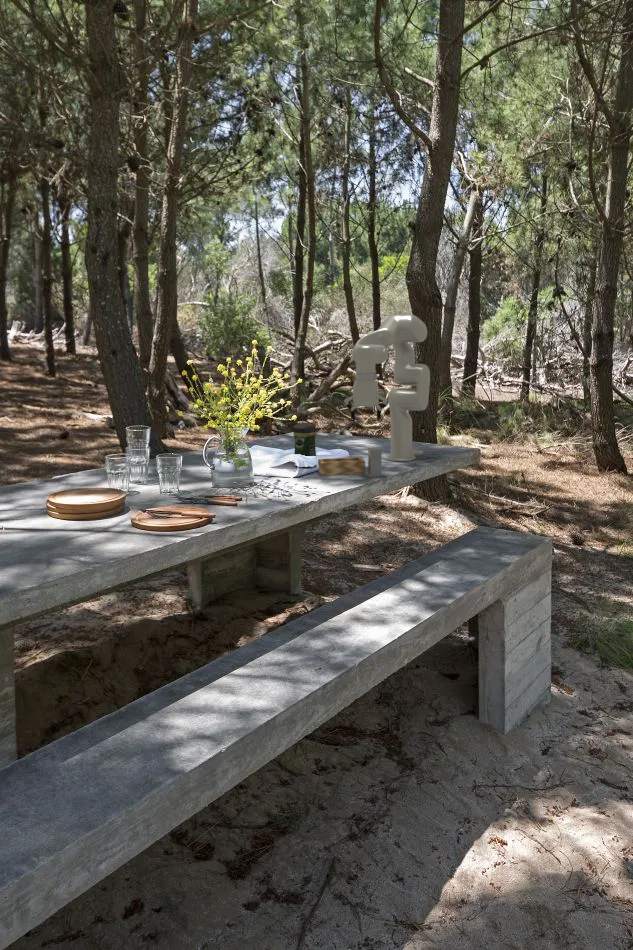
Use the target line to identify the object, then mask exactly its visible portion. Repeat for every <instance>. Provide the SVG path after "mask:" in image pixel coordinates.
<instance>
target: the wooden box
mask: <svg viewBox="0 0 633 950" xmlns="http://www.w3.org/2000/svg"><path fill="white" fill-rule="evenodd" d="M317 466H319V470H318V469H317V470H318V471H319V472H318V473H319V475H320V476H322V477H323V476H326V477H327V476H341V475H340V474H350V475H359V474H358V473H365V474H366V460H365V459H364V458H362V457H361V456H354V457H353V456H352V457H332V458H331V457H330V458H318V459H317Z"/></svg>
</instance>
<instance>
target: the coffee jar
mask: <svg viewBox="0 0 633 950" xmlns="http://www.w3.org/2000/svg"><path fill="white" fill-rule="evenodd" d="M292 433H293V438H294V454H301V455H305V456H316V457H317V450H316V449H317V448H316V435H317V429H316V425H315V424H311V423H297V424H294V425H293V432H292Z"/></svg>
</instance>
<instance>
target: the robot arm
mask: <svg viewBox="0 0 633 950" xmlns="http://www.w3.org/2000/svg"><path fill="white" fill-rule="evenodd" d="M427 328H428V327H427V325H426V324H425V322H424V321H423V320H421V319H420V318H419V317H417V316H416V315H414V314H410V313H409V314H408V313H407V314H399V313H398V314H397V313H396V314H391V315H388V316H387V317H386V318H385V319H384V321H383V322H382V323H381V325H380V326H379V327H378V329H377V330H374V331H372V332H370V333H368V334H366V335H364V336H362V337H360V338H359V339H358V340H357V342H356V343H355V344H354V346H353V348H352V351H351V357H352V360H353V361H354V362H355V363H356V364H355V367H356V369H355V373H356V374H355V375H356V376H355V377H356V379H355V380H354V381H353V387H352V389H353V390H352V395H351V396H349V397H347V398H345V399H344V400H343V401H344V404H345V406H346V407H347V409H349V411H350V419H351V420H352V421H353V422H355V421H356V411H355V409H356V408H357V407H375V408H376V409H377V410H376V421H377V422H379V421H380V419H381V418H382V414H381V413H382V411H383V409H384V408H385V407H386V405H387V403H388V404H389V413H390V455H388V456H386V459H387V460H388V461H392V462H409V461H410V462H411V461H415V460H416V458H417V457H416V456H418V455H419V456H422V455H423V454H424V453H423V450H422V449H421V450H419V449H417V450H415V449H413V419H412V416H411V415H410V413H409V411H414V412H415V411H418V412H419V411H420V412H421V411H425V410H426V409H427V407H428V404H429V398H430V397H429V396H430V387H431V386H430V381H431V372H430V368H429V366H428V365H426V364H424V363H415V357H416V356H415V355H416V354H415V350H414V349H413V347H412V345H411V344H410V343H422V342H424V341H425V340H426V339H427V337H428V329H427ZM391 346H393V350H394V357H395V358H394V369H393V380H394V382H395V384H396V385H398V386H407V387H408V386H410V387H411V386H415V387H417V388H409V387H408V388H407V387H406V388H405V387H399V388H393V389H392V390H390V392H389V393H388V399H387V398H386V397H384V396H382V395H380V394H379V383H378V380H376V379H379V378H380V374H379V373H378V374H377V372H376V365H378V364H383V363H385V362H386V361H387V359H388V357H389V350H388V347H391ZM380 400H381V401H383V402H382V403H381V405H380V404H379V403H380ZM350 401H352V405H350V403H349V402H350Z"/></svg>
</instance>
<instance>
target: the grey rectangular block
mask: <svg viewBox="0 0 633 950" xmlns="http://www.w3.org/2000/svg"><path fill="white" fill-rule="evenodd" d="M382 450H383V449H381V448H380V447H372V448H370V447H369V448H367V455H368V456H367V457H368V458H367V459H368V460H367V461H368V462H367V465H368V466H367V467H368V468H367V469H368V473H367V474H368V477H370V478H380V477H379V476H382V468H383V467H382V465H383V464H382V462H383V460H382V455H383V454H382V453H383V452H382ZM376 476H377V477H376Z"/></svg>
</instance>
